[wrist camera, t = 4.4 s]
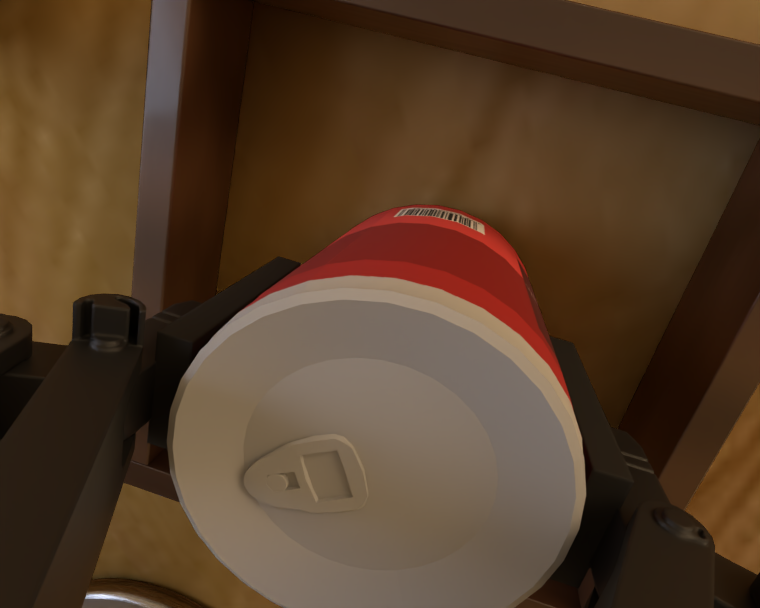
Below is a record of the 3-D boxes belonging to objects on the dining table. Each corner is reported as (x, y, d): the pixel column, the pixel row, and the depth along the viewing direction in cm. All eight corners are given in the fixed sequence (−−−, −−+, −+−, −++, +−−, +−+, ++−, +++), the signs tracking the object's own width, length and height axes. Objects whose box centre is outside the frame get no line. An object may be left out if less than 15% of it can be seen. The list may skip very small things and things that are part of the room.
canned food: (287, 263, 20) (87, 399, 10) (468, 157, 18) (453, 190, 7) (385, 419, 22) (298, 679, 11) (566, 340, 19) (667, 583, 9)
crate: (582, 564, 22) (602, 651, 18) (174, 426, 24) (117, 481, 20) (826, 95, 15) (936, 84, 12) (227, -46, 17) (156, -96, 13)
